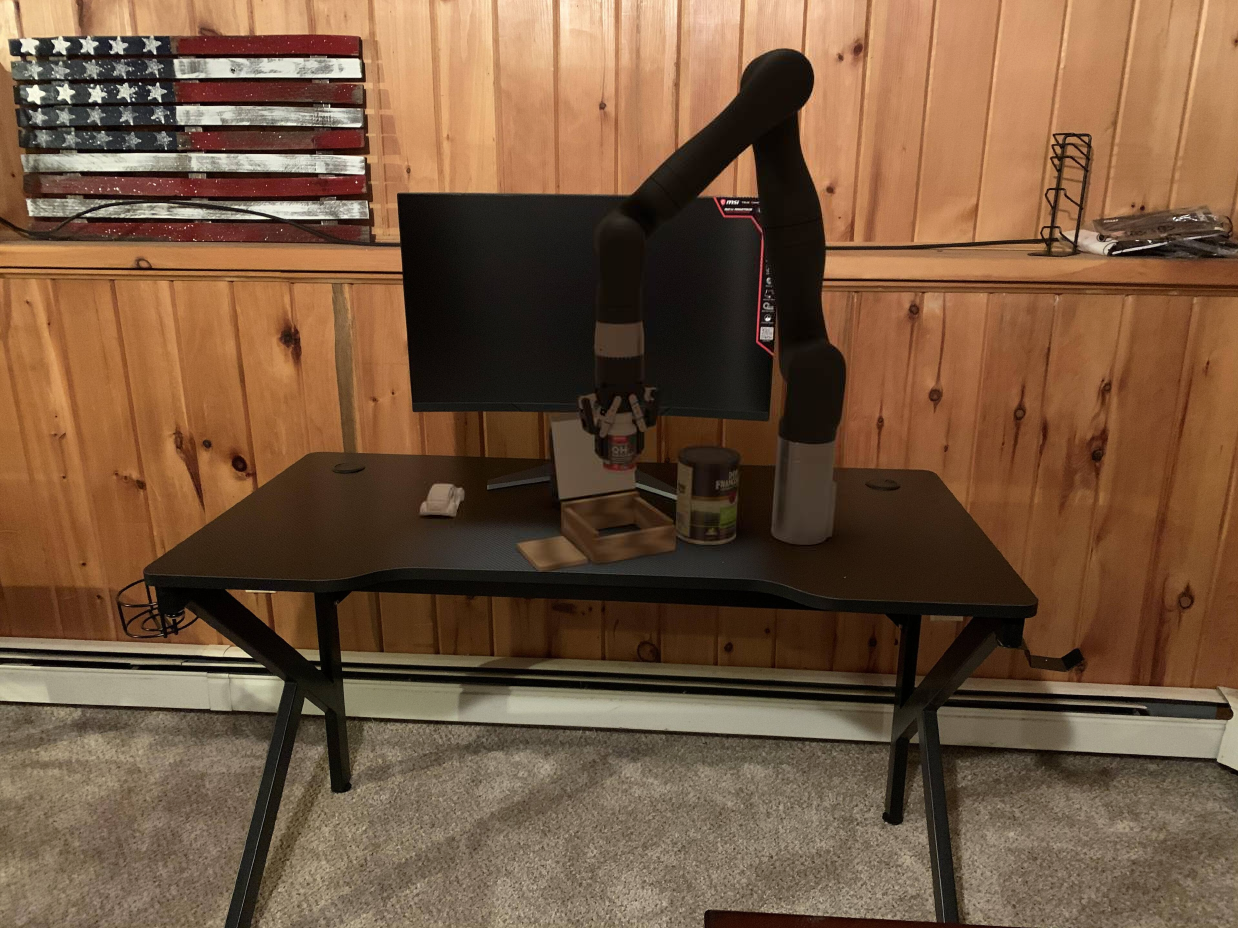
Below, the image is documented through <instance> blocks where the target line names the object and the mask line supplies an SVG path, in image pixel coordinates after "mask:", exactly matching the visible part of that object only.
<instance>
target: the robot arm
mask: <svg viewBox="0 0 1238 928" xmlns="http://www.w3.org/2000/svg"><path fill="white" fill-rule="evenodd" d="M814 87H815V72H814V68H813V66H812V63H811V61H810V60H809V58H808V57H807V56H806V55H805V54H803V53H802V52H800V51H799V50H796V49H793V48H788V47H786V48H785V47H784V48H775V49H772V50H769V51H767V52H765V53H762V54H761V55H758V56H757V57H755V58H753V59H752V60H751V61H750V62H749V63H748V64H747V65H746V67H745V68H744V69H743V73H742V75H741V77H740V84H739V92H738V93H736V96H735V97H734V98H733V99H732V100H731V101H730V102H729V104H728V105H727V106H726V107H724V109H723V110H722V111H721V112H720V113H719V114H718V115H717V116H716V117H715V118H713V120H711V121H710V122H709V123H708V124H707V125H706V126H704V128H703V127H702V129H701V130H700V131H698V132H697V133H696V134H694V135H693V136H692V137H691V138H690V139H688V140H687V141H686V142H684V144H682V145H681V146H680V147H678V148H677V150H675V151H674V152H673V153H672V154H670V156H669V157H667V158H666V159H665V160H664V161H663V162H662V163H661V164H660V165H659V166H658V167H657V168H656V169H655V170H654V171H653V172H652V173H651V174H650V175H649V176H648V177H647V178H646V179H645V180H644V181H643V182H642V184H641V185H640V186H639V187H638V188H637V189H636V190H635V191H634V192H633V193H632V194H630V195H629V196H628V197H626V198H625V199H624V200H623V201H621V202H620V203H619V204H618V205H617V206H615V207H614V208H613V209H612V210H611V211H610V212H608V213H607V215H605V216H604V217H603V218H602V219H601V220H600V222H598V224H597V226H596V228H595V230H594V233H593V241H592V242H593V246H594V249H595V251H596V253H597V254H598V276H599V278H598V279H599V280H598V282H599V283H598V286H597V288H596V294H595V295H596V297H595V305H596V306H595V307H596V309H595V311H596V312H595V313H596V315H595V316H596V319H595V320H596V322H595V331H594V345H593V346H594V347H593V348H594V373H595V374H594V377H595V379H594V380H595V388H594V389H593V393H590V394H587V395H582V394H579V395H577V396H576V403H577V408H578V412H579V413H580V418H581V423H582V428H583V430H584V431H586V432H587V433H589V434H591V435H594V440H595V453H596V455H598V457H599V458H601V459H602V460H604V459H607V437H606V434H607V431H608V428H609V426H610V424H612V422H613V419H614V417H615V414H617V413H625V412H632V421H631V423H633V424H634V425H635V426H636V429H637V455H641V454H642V453H643V452H642V451H644V449H645V432H646V430H647V429H648V428H650V427H652V428H653V427H655V426H656V425H657V421H658V415H659V409H660V404H661V399H662V390H660V389H658V388H657V387H653V386H649V387H645V384H644V378H645V333H644V325H643V292H642V291H643V290H642V289H643V281H644V277H645V276H644V275H645V267H646V255H647V254H646V253H647V251H646V250H647V248H646V247H647V245H646V244H647V243H646V242H647V240H648V239H649V238H651V237H652V235H654V234H655V233H656V232H657V231H658V230H659V229H660V228H661V227H662V226H665V225H667V224H670V223H671V222H673V221H674V220H675V219H676V218H677V217H679V216H680V215H681V214H682V213H683V212H684V211H685V210H686V209H687V208H688V207H689V206H691V204H692V203H693V202H694V201H695V200H696V199H697V198H698V197H699V196H700V195H701V194H702V193H704V191H705V190H706V189H707V188H708V187H709V186H710V185H711V184H712V183H713V182H714V181H715V180H716V179H717V178H718V177H719V176H720V174H722V173H723V172H724V171H725V169H726V168H728V167H729V166H730V165H731V164H732V163H733V162H734V160H736V159H737V158H738V157H739V156H740V155H741V154H743V152H744V151H746V150H747V149H748V148H749V147H750V146H752V152H753V153H752V154H753V157H754V158H753V159H754V166H755V176H756V177H755V178H756V191H757V197H758V206H759V207H758V208H759V214H760V227H761V233H762V240H763V242H762V243H763V248H764V255H765V261H766V264H767V269H768V276H769V281H770V285H771V290H772V295H773V298H774V299H773V300H774V303H775V309H776V318H777V321H776V323H777V341H778V342H777V343H778V344H777V346H778V347H777V348H778V349H777V350H778V354H777V355H778V368H779V371H780V375H781V377H782V378H783V380H784V382H785V383H786V387H785V388H786V390H785V398H784V399H785V401H784V411H783V415H781V417H780V418H779V421H778V430H777V444H776V446H777V447H776V460H775V471H774V472H775V473H774V488H773V489H774V490H773V503H772V518H771V531H770V534H771V535H772V536H773V537H774V538H775V539H777V540H779V541H781V542H784V543H787V544H793V545H801V546H806V545H807V546H808V545H816V544H820V543H823V542H825V541H826V540H827V538H830V537H831V538H832V537H833V528H834V517H835V508H836V507H835V505H836V495H837V482H836V481H834V480H833V474H834V462H835V450H836V440H837V430H838V428H839V426H840V423H841V420H842V416H843V409H844V401H845V393H846V387H847V386H846V384H847V363H846V359H845V357H844V355H843V353H842V351H840V349H839V348H838V347H837V346H835V345H834V344H832V343H831V341H830V339H829V335H828V330H827V326H826V321H825V316H824V310H823V299H822V297H823V283H824V277H825V269H826V261H827V258H826V257H827V243H826V233H825V226H824V225H825V224H824V217H823V216H824V215H823V212H822V211H823V209H822V206H821V201H820V196H819V194H818V191H817V189H816V185H815V183H814V180H813V178H812V176H811V173H810V170H809V168H808V166H807V162H806V160H805V157H804V154H803V150H802V145H801V138H800V135H801V134H800V126H799V125H800V124H799V123H800V122H799V111H800V110H801V109H803V107H804V106H805V105H806V104H807V103H808V101H809V99H810V98H811V96H812V93H813V90H814ZM642 399H644V400H645V405H644V408H643V412H642V409H641V407H640V405H639V404H640V403H641V401H642ZM595 402H596V403H597V404H598V405H599V408H598V409H597V410H598V413H597V416H596V417H597V420H596V423H594V418H593V413H592V411H593V409H594V407H595ZM606 413H607V414H606Z"/></svg>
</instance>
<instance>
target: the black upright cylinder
mask: <svg viewBox="0 0 1238 928" xmlns="http://www.w3.org/2000/svg"><path fill="white" fill-rule="evenodd" d="M548 453H549V461H550V463H549V465H550V466H549V468H550V469H549V488H550V496H551V498H552V500H553V503H552V504H553V506H554V507H555V508H557V509H561V503H563V502H569V501H576V500H583V499H589V498H593V496H594V494H593V495H586V496H579V497H573V498H566V499H559V493H558V483H557V474H556V465H555V455H554V446H553V436H552V427H551V424H550V425H549V430H548Z"/></svg>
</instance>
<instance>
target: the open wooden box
mask: <svg viewBox="0 0 1238 928" xmlns="http://www.w3.org/2000/svg"><path fill="white" fill-rule="evenodd" d="M560 516H561V518H560V524H561V525H560V526H561V527H560V528H561V531H560V532H561V534H562V536H563V537H565V538H566V539H567V540H568V541H569V542H570V543H571V544H572V545H573V546H574V547H576V548H577V549H578V550H579V551H580V552H581V553H582V554H583V555H584V556H585V557H587V558H589V559H588V560H590V561H592V562H593V564H595V565H600V564H606V563H611V562H616V561H617V562H618V561H622V560H623V561H624V560H627V559H633V558H634V559H635V558H639V557H645V556H651V555H654V554H661V553H667V552H671V551H676V548H677V547H676V543H677V535H676V524H674V520H673V519H672V518H670V516H667V515H666V514H665V513H663V512H662V511H660V510H659V509H657V508H656V507H654V506H653V505H652V504H650V503H648V502H647V501H646V500H645V499H643V498H641V497H640V492H638V491H637V490H635V491H631V492H623V493H618V494H617V493H615V494H611V495H609V494H608V495H604V496H603V495H602V496H596V497H591V498H589V499H583V500H576V501H569V502H563V503H561V510H560ZM632 524H633V525H635V526H636V527H637V528H639V530H635V531H634V530H633V531H628V532H623V533H622V532H621V533H615V534H610V535H604V536H600V532H599V531H598V530H602V529H609V528H615V527H621V526H626V525H632Z"/></svg>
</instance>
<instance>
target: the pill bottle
mask: <svg viewBox="0 0 1238 928" xmlns="http://www.w3.org/2000/svg"><path fill="white" fill-rule="evenodd" d="M631 421H632V412H625V413H617V414H615V417H614V419H613V422H612V424H610V426H609V428H608V431H607V434H606V437H607V459H604V460H603V470H604V471H605V472H607V473H610V474H616V475H625V474H630V473H632V472H634V473H635V471H637V462H638V461H637V457H638V456H637V429H636V426H635V425H634V424H633V423H631Z"/></svg>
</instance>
